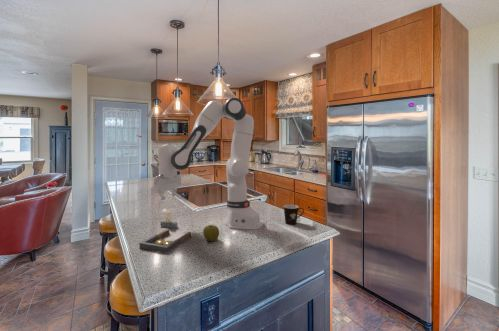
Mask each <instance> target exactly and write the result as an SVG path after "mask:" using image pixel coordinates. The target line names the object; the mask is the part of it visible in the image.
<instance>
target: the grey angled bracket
mask: <svg viewBox="0 0 499 331" xmlns="http://www.w3.org/2000/svg"><path fill="white" fill-rule="evenodd" d="M155 235H156V234H155ZM155 235H152V236H150V237H149V238H146V239H144V240H142V241H140V242H139V249H142V250H147V249H148V250H147V251H152V250H153V252H158V251H159V253H164V254H168V253H169V252H171V251H172V250H175V248H177V247H178V245H179V246H180V245H181V244H180V239H178V238H177V239H175V240H172V241H173V242H171V243H170V244H168V245H166V246H164V245H158V244H155V241H157V236H155Z"/></svg>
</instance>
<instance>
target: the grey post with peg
mask: <svg viewBox="0 0 499 331" xmlns="http://www.w3.org/2000/svg"><path fill="white" fill-rule="evenodd" d="M160 227H161V228H167V227H168V228H167V229H177V228H178V222H177V221H172V211H171V210H167V211H165V220H161V221H160Z"/></svg>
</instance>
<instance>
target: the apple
mask: <svg viewBox="0 0 499 331" xmlns="http://www.w3.org/2000/svg"><path fill="white" fill-rule="evenodd" d="M202 234H203V235H202V236H203V237H204V239H205V240H206V241H209V242H216V241H217V240H218V239H219V236H220V230H219V227H218V226H217V225H214V224H210V225H209V224H208V225H206V226H205V227H203V232H202Z"/></svg>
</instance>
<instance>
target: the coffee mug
mask: <svg viewBox="0 0 499 331" xmlns="http://www.w3.org/2000/svg"><path fill="white" fill-rule="evenodd" d="M300 210H302V212H301V214H299V211H300ZM283 212H284V214H283V215H284V222H285V224H286V225H287V226H288V225H289V226H295V225H297V221H298V218H300V217H301V216H302V215H303V214H304V212H305V210H304V208H303V207H299V206H298V205H296V204H285V205H283ZM298 214H299V215H298Z"/></svg>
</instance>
